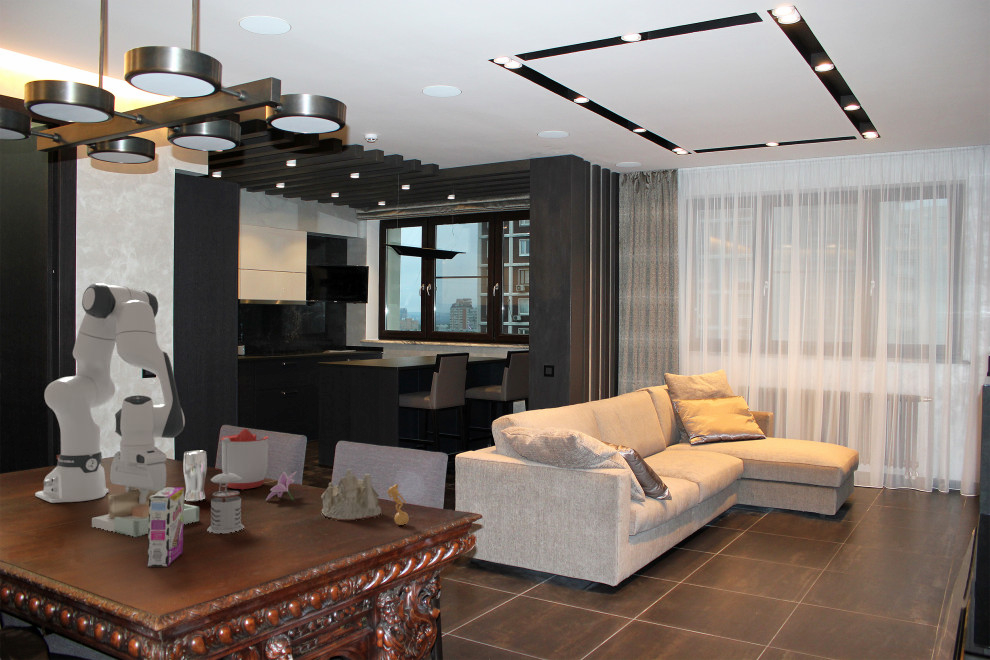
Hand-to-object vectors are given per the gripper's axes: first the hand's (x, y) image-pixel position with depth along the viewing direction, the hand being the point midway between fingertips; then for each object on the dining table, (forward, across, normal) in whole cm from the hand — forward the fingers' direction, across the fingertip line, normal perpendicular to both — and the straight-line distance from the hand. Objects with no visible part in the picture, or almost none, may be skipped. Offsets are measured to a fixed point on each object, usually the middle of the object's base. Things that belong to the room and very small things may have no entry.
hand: (137, 502), depth 218 cm
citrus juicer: (+6, -11, +50) cm, 51 cm away
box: (+5, +9, 0) cm, 11 cm away
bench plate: (+5, 0, 0) cm, 5 cm away
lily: (+6, +15, +41) cm, 44 cm away
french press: (+6, +26, +9) cm, 28 cm away
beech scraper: (+2, 0, 0) cm, 3 cm away
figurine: (+6, +65, +36) cm, 74 cm away
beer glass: (+6, -9, +27) cm, 29 cm away
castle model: (+6, +45, +39) cm, 60 cm away
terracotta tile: (+3, +4, 0) cm, 5 cm away
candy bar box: (+6, +37, -18) cm, 41 cm away
